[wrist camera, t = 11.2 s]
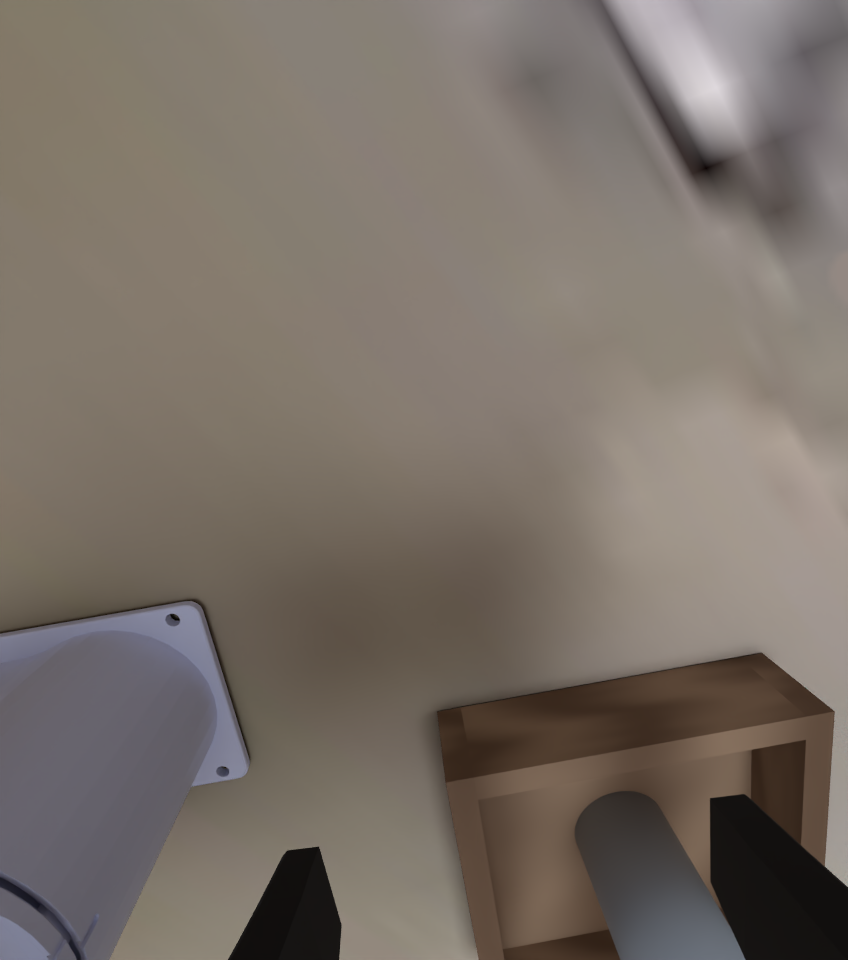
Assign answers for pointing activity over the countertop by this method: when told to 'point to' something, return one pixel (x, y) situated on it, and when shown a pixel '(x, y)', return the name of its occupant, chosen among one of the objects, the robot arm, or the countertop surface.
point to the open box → (620, 786)
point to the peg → (649, 884)
